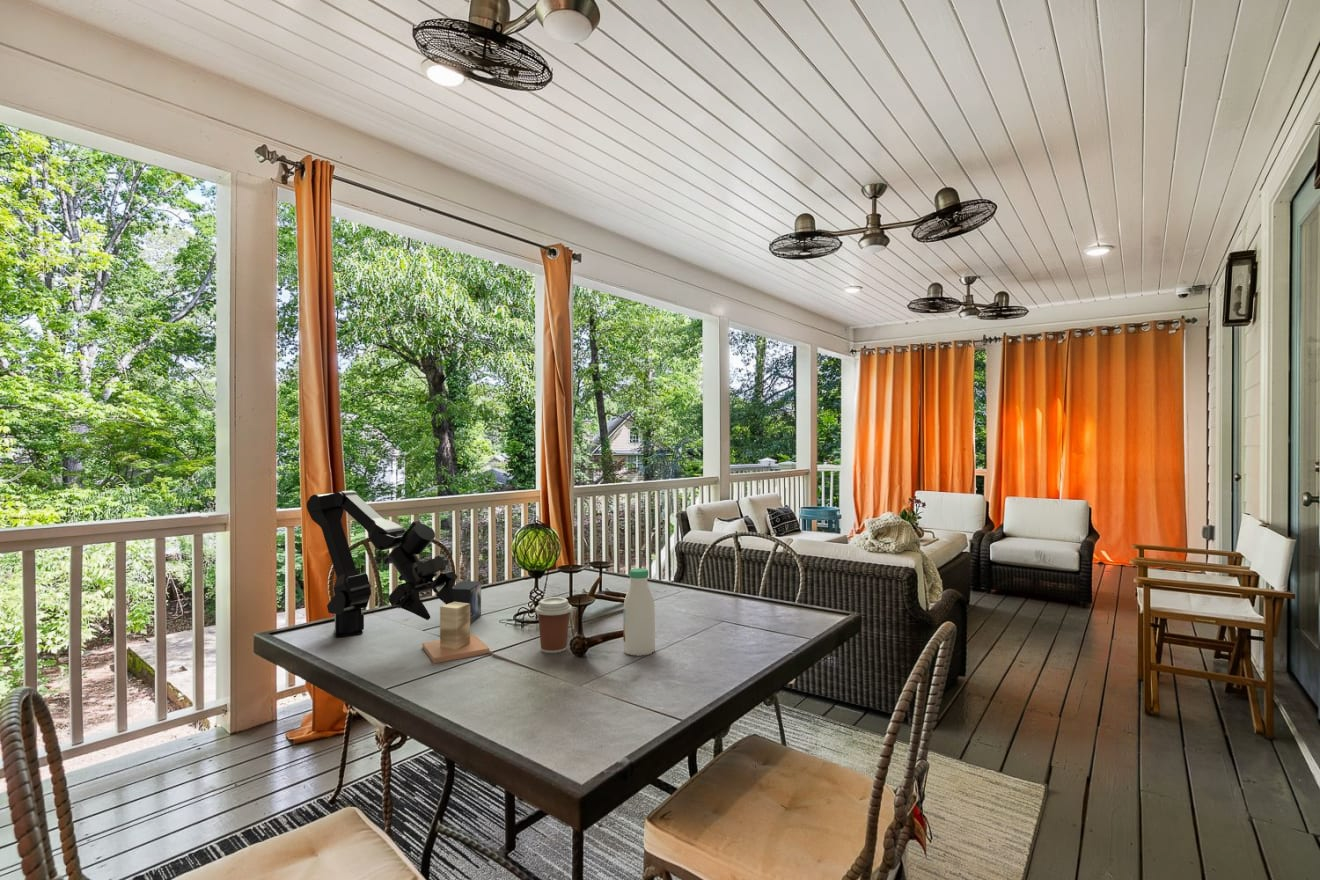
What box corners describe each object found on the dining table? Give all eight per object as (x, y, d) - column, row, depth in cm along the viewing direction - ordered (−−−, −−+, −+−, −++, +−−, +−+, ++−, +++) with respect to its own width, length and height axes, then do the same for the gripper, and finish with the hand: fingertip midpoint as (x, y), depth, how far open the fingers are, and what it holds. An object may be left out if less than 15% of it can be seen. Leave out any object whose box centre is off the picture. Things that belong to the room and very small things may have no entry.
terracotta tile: (433, 663, 143) (433, 658, 143) (422, 647, 154) (422, 642, 154) (489, 653, 150) (489, 648, 150) (474, 638, 161) (474, 634, 161)
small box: (470, 626, 173) (470, 588, 173) (447, 626, 173) (447, 588, 173) (482, 615, 184) (482, 580, 184) (460, 615, 184) (460, 580, 184)
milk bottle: (661, 650, 152) (661, 569, 152) (639, 659, 146) (639, 574, 146) (639, 644, 157) (639, 565, 157) (616, 651, 151) (616, 569, 151)
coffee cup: (528, 652, 151) (527, 603, 151) (547, 641, 159) (547, 594, 159) (561, 657, 148) (560, 606, 148) (578, 645, 156) (578, 597, 156)
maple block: (456, 650, 149) (456, 608, 149) (440, 647, 151) (440, 606, 151) (470, 643, 154) (470, 603, 154) (454, 641, 156) (454, 601, 156)
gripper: (397, 551, 148) (433, 602, 143) (452, 540, 165) (485, 585, 160) (373, 581, 151) (407, 632, 146) (429, 567, 168) (461, 612, 163)
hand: (442, 614), depth 154 cm, fingers open, 9 cm apart
